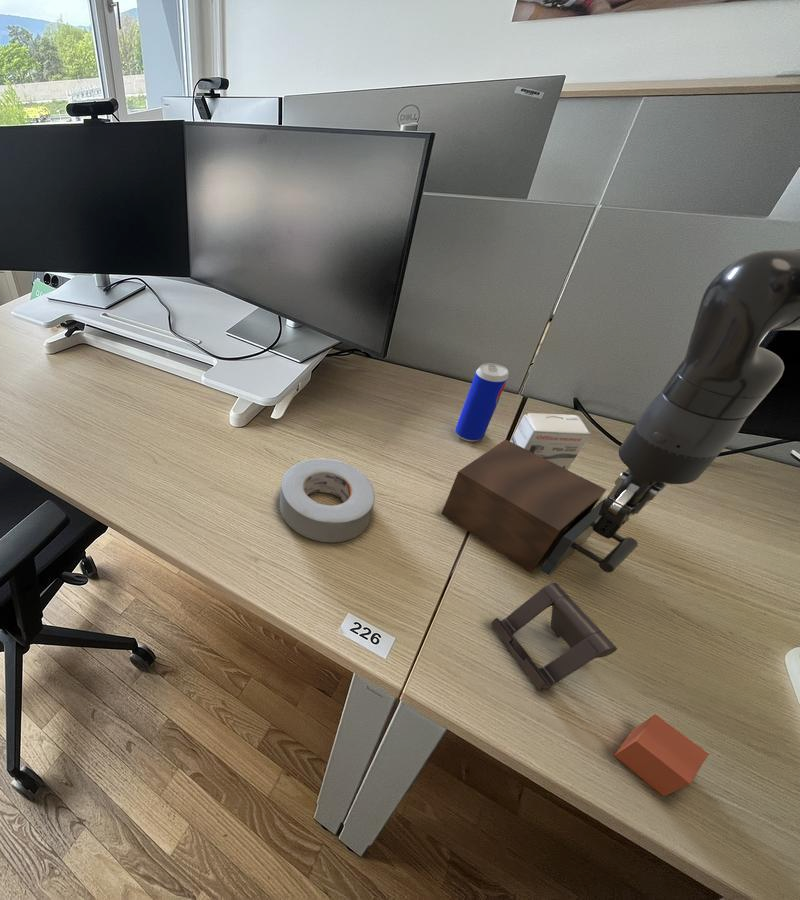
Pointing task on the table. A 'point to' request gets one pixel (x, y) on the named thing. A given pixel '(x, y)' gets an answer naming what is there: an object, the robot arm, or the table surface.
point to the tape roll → (321, 518)
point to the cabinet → (519, 502)
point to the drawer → (574, 542)
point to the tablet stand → (564, 623)
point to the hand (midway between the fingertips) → (603, 532)
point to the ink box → (552, 436)
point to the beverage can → (481, 401)
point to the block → (661, 755)
